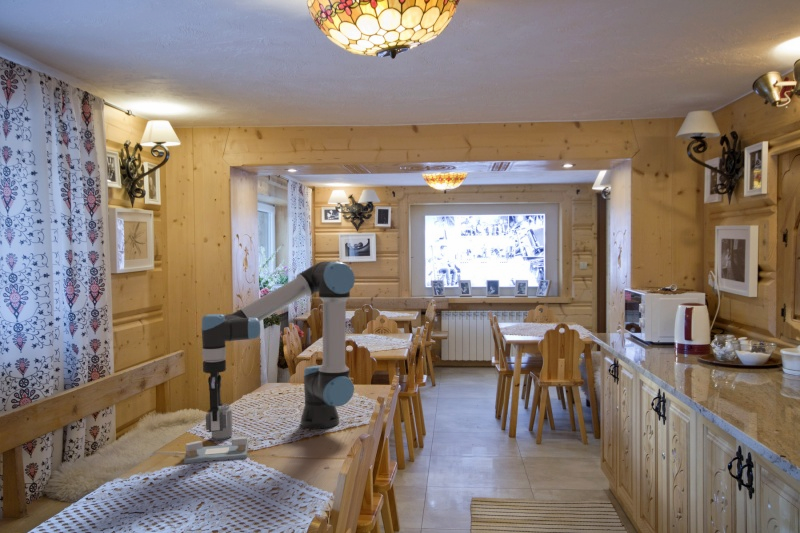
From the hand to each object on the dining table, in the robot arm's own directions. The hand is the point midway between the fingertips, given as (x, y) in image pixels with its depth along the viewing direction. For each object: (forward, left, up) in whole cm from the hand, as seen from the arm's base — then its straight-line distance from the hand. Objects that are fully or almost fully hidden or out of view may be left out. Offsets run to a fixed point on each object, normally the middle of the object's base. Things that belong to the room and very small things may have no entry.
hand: (216, 427), depth 205 cm
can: (0, -20, -10) cm, 22 cm away
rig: (0, 0, -9) cm, 9 cm away
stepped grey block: (0, 0, -1) cm, 1 cm away
